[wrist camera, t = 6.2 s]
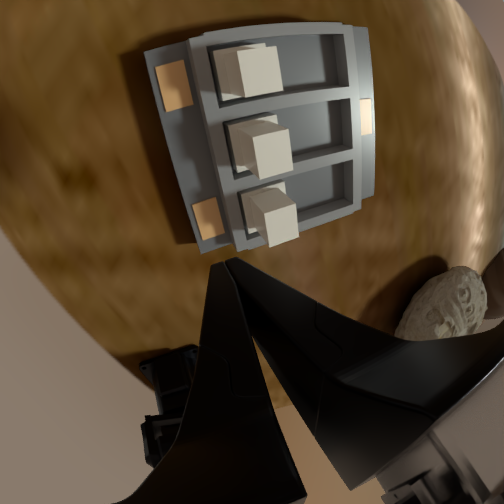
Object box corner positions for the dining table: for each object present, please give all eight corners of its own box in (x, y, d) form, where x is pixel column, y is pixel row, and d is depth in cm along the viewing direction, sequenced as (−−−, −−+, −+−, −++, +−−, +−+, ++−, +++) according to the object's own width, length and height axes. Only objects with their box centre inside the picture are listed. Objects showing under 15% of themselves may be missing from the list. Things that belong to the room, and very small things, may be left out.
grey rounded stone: (361, 350, 43) (397, 398, 35) (418, 250, 34) (473, 299, 26) (424, 331, 50) (456, 366, 42) (471, 252, 41) (512, 286, 34)
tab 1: (266, 89, 16) (292, 94, 14) (218, 99, 16) (236, 105, 13) (258, 44, 15) (284, 39, 12) (209, 52, 14) (225, 47, 11)
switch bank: (363, 189, 25) (382, 202, 23) (197, 244, 23) (205, 265, 21) (354, 26, 17) (378, 25, 15) (143, 51, 14) (143, 47, 12)
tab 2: (276, 155, 19) (301, 172, 16) (232, 167, 19) (251, 187, 16) (270, 112, 17) (296, 121, 15) (223, 123, 17) (242, 134, 14)
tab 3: (283, 214, 22) (306, 238, 19) (244, 227, 21) (262, 253, 19) (278, 176, 20) (302, 196, 17) (236, 189, 20) (255, 211, 17)
